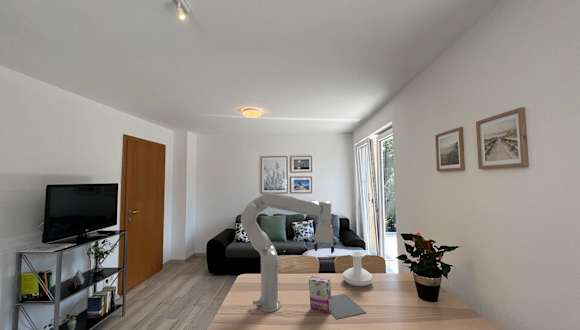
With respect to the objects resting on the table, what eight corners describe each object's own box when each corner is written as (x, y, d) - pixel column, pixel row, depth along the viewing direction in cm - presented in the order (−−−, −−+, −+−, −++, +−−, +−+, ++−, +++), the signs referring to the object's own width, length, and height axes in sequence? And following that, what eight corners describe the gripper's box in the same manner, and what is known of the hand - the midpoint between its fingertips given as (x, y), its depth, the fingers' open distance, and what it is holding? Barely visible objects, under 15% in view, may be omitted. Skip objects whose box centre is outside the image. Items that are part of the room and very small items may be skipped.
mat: (336, 319, 126) (336, 318, 126) (318, 298, 146) (318, 298, 146) (366, 313, 131) (366, 312, 131) (344, 294, 152) (344, 293, 152)
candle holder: (340, 276, 179) (340, 249, 180) (368, 276, 178) (367, 250, 179) (345, 289, 159) (345, 259, 160) (376, 289, 158) (376, 259, 159)
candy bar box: (332, 308, 135) (330, 278, 135) (329, 313, 130) (327, 282, 131) (313, 304, 140) (311, 275, 140) (310, 309, 135) (308, 279, 136)
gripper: (308, 222, 144) (308, 251, 144) (337, 225, 138) (337, 255, 137) (312, 220, 151) (311, 248, 151) (340, 222, 145) (339, 252, 144)
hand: (324, 251), depth 144 cm, fingers open, 9 cm apart
